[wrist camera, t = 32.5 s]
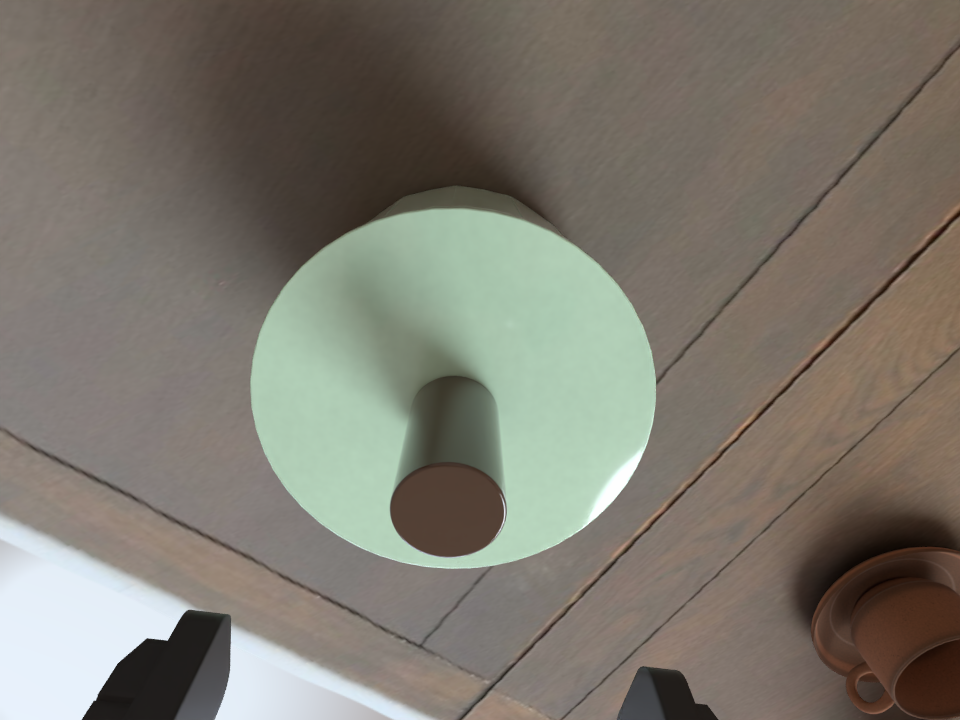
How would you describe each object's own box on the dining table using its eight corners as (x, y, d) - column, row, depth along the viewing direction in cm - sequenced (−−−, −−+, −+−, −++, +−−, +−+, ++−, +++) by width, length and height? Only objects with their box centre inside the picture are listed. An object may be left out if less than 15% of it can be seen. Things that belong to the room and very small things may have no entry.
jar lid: (254, 524, 23) (177, 666, 17) (268, 162, 18) (160, 183, 11) (589, 571, 24) (628, 719, 18) (703, 247, 19) (812, 307, 13)
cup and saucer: (915, 669, 42) (985, 755, 36) (769, 644, 40) (818, 729, 35) (1011, 548, 37) (1108, 624, 31) (850, 515, 36) (920, 589, 30)
